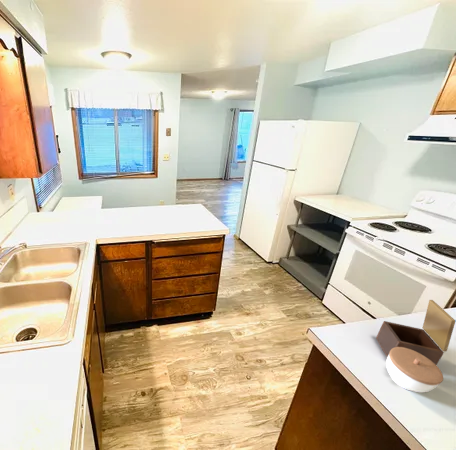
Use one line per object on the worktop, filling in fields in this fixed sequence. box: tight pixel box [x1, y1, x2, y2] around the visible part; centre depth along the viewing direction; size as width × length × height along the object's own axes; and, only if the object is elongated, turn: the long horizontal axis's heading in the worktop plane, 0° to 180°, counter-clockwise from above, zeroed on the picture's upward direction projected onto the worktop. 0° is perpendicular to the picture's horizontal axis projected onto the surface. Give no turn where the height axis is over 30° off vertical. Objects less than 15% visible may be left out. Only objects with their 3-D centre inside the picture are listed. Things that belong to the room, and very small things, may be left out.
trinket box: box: [385, 347, 444, 393], centre depth 69 cm, size 11×11×9 cm
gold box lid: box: [422, 299, 456, 352], centre depth 73 cm, size 11×10×1 cm
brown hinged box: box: [375, 320, 445, 366], centre depth 78 cm, size 11×10×8 cm
